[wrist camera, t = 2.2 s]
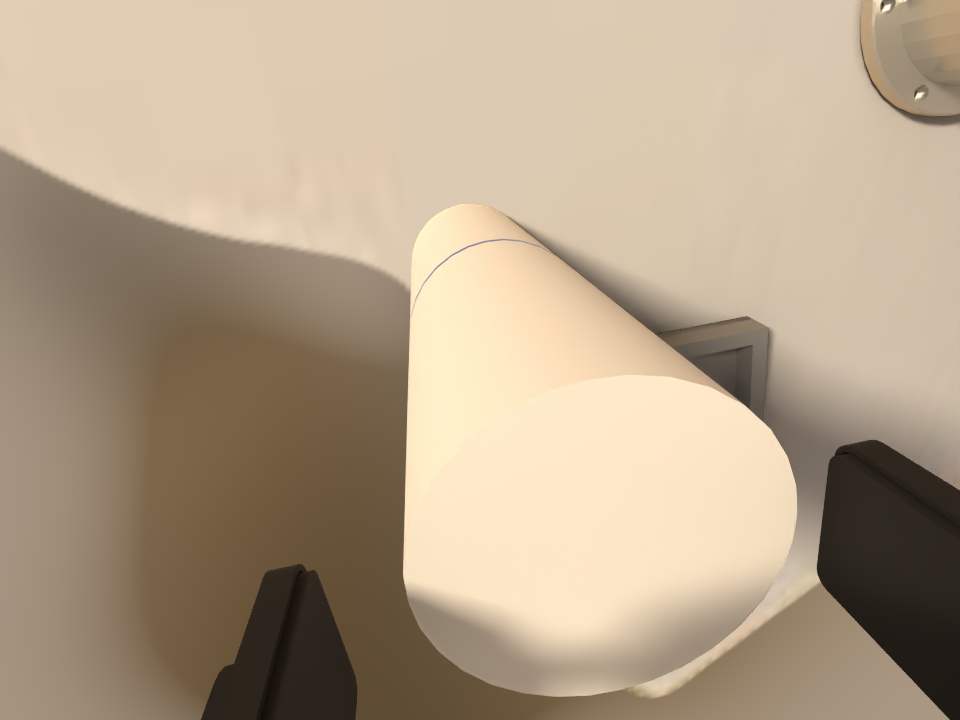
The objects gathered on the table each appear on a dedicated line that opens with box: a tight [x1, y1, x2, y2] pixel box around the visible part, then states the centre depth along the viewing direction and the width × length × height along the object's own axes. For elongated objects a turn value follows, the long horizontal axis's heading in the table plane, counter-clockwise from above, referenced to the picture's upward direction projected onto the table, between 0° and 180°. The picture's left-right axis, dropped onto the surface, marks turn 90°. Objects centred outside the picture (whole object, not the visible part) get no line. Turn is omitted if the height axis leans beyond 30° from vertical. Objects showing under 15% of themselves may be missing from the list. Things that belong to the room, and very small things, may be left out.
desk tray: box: [655, 316, 769, 422], centre depth 38 cm, size 16×16×2 cm
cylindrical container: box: [403, 204, 797, 697], centre depth 21 cm, size 7×7×25 cm
